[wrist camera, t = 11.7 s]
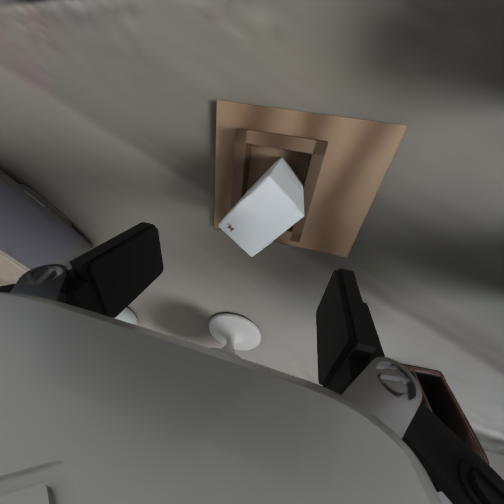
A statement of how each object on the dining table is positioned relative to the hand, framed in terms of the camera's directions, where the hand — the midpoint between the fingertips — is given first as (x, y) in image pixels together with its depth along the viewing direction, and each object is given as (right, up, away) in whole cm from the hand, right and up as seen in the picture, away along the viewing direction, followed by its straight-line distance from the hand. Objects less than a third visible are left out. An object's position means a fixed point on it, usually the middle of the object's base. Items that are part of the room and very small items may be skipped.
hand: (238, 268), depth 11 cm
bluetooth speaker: (-38, +9, +28) cm, 48 cm away
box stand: (+6, +10, +16) cm, 19 cm away
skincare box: (+4, +9, +15) cm, 18 cm away
